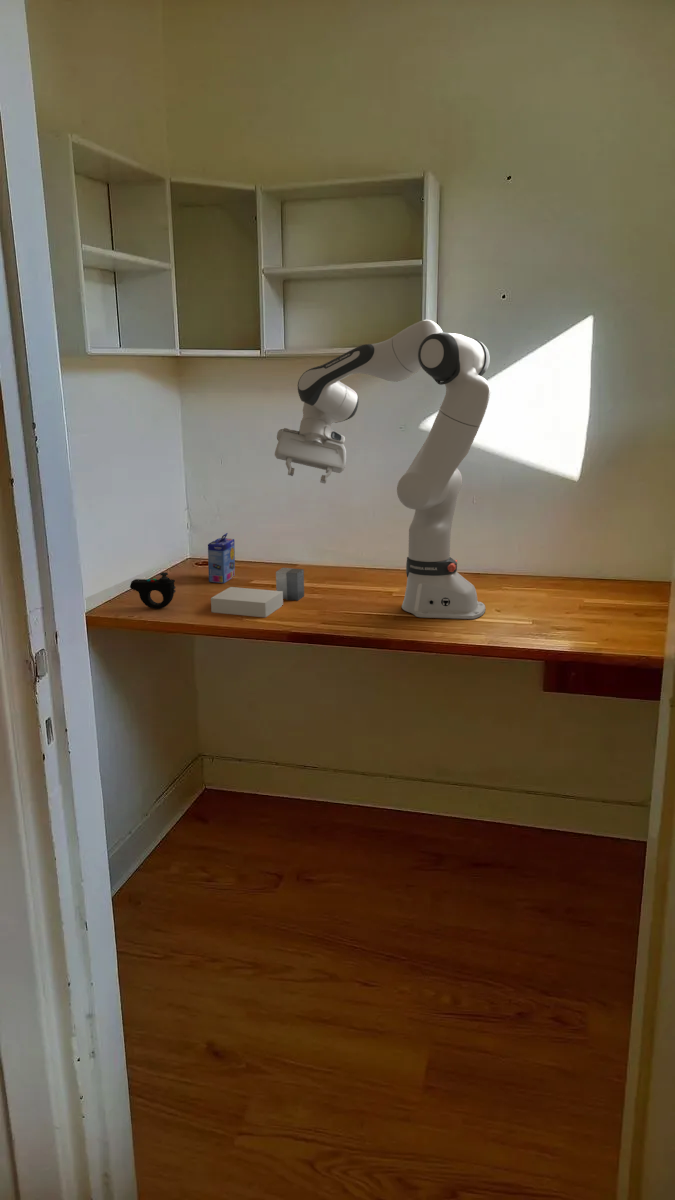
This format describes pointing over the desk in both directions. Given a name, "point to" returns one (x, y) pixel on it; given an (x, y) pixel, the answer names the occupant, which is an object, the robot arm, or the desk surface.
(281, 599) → the stand
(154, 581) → the controller
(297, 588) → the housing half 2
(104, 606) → the desk surface
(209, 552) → the ink cartridge box
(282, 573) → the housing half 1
